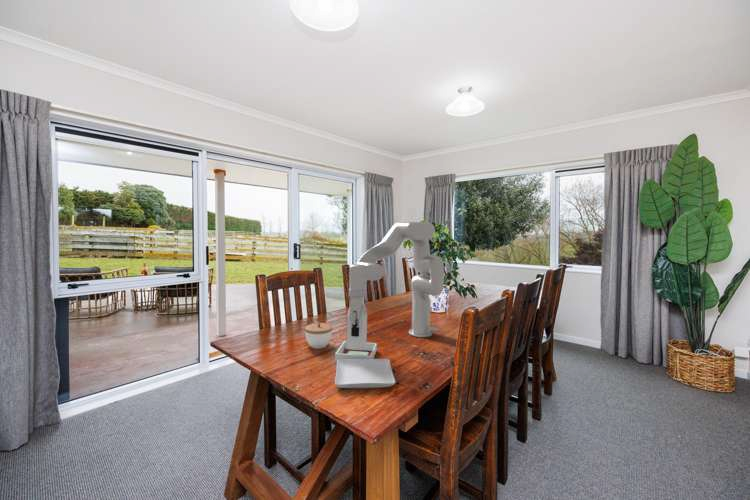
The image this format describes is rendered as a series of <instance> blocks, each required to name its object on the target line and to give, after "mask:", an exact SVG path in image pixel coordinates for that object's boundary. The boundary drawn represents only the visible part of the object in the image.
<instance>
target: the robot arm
mask: <svg viewBox="0 0 750 500" xmlns="http://www.w3.org/2000/svg"><path fill="white" fill-rule="evenodd" d="M435 232H436V228H435V226H434V225H433V223H431V222H429V221H421V222H419V221H398V222H395V223H394V224H393V225H392V226H391V228H390V229H389V230H388V232H387V233H386V234H385V235H384V237H383V238H382V240H381V241H380V242H378V243H377V244H376V245H374V246H373V247H371V248H370V249H368V250H367V251H365V252H364V253H363V254H362V255H361V256H360V258H359V259H358V260H357V262H356V263H353V264H351V265H350V266H349V273H348V275H349V278H348V281H349V282H348V285H349V286H348V297H349V298H350V299H349V300H350V301H349V306H350V307H348V310H349V320H351V319H352V326H351V336H355V337H358V336H359V327H358V325H359V321H360V317H361V313H362V310H363V304H364V305H365V298H367V281H379V280H380V279H382V278H383V277H384V275H385V268H384V267H383V265H381V264H379V263H376V262H377V261H379V260H382V259H385V258H389V257H391V256H394V255H395V254H396V253H397V251H398V250H399V248H400V246H401V245H402V244H403V242H404V241H410V242H411V244H412V248H413V249H412V250H413V251H412V252H413V254H412V255H413V268H414V270H415V271H416V272H417V273H421V274H416V275H414V276H413V277H412V278H411V280H410V281H411V282H410V288H411V293H412V302H411V303H412V304H411V305H412V306H411V308H412V309H411V328H410V329H409V330H408V334H409V335H410V336H413V337H415V338H418V337H419V338H430V337H432V336H433V333H439V328H438V327H435V326H431V305H432V303H431V297H430V296H435V297H436V296H440V295H441V294H442V293H443V291H444V287H445V285H444V283H445V281H444V280H445V278H444V277H445V276H444V275H445V271H444V270H445V269H444V266H445V265H444V260H443V259H442V258H441V257H440V256H439V255H432V254H431V249H430V248H431V247H430V242H429V240H430V239H432V238H433V237H434V236H435ZM427 274H430V275H427ZM356 315H357V318H358V320H356ZM356 321H357V323H356Z"/></svg>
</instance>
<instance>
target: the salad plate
mask: <svg viewBox="0 0 750 500" xmlns="http://www.w3.org/2000/svg"><path fill="white" fill-rule="evenodd" d="M391 365H392V364H391V360H390V359H388V358H373V359H342V360H338V361H337V362H336V373H335V377H334V384H335V386H336V387H338V388H340V389H375V388H376V389H379V388H380V389H381V388H390V387H392V386H394V385H395V384H396V379H395V375H394V372H393V370H392V366H391Z"/></svg>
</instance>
